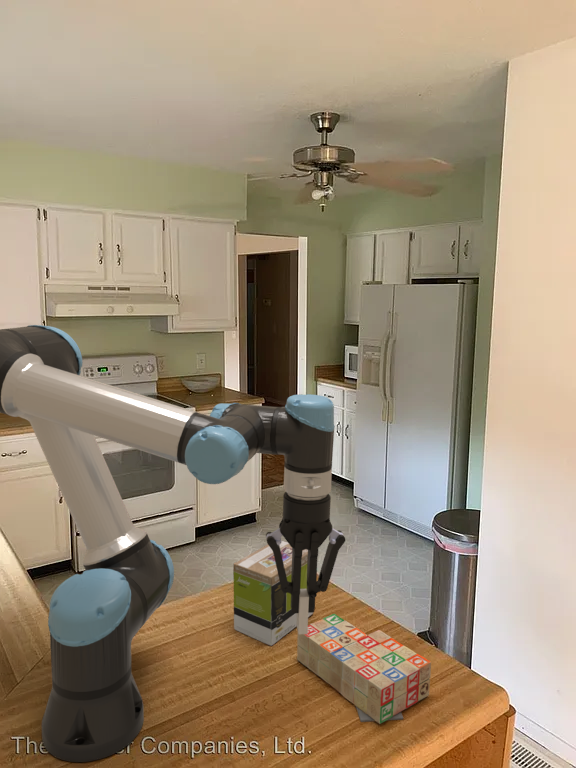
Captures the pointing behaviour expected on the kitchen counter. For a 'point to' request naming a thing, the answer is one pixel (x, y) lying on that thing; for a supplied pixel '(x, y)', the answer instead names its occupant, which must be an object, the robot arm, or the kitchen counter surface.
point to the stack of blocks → (365, 666)
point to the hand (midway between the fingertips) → (301, 629)
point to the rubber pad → (366, 718)
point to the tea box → (265, 594)
